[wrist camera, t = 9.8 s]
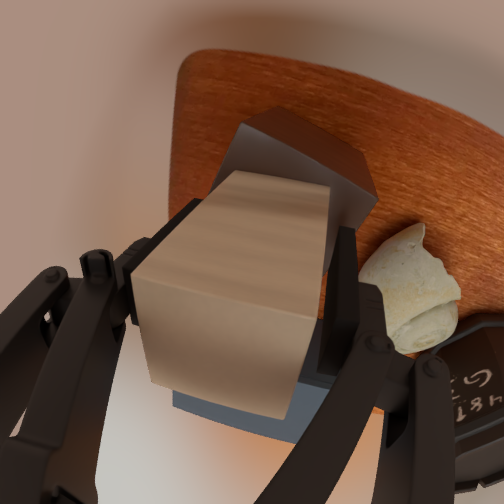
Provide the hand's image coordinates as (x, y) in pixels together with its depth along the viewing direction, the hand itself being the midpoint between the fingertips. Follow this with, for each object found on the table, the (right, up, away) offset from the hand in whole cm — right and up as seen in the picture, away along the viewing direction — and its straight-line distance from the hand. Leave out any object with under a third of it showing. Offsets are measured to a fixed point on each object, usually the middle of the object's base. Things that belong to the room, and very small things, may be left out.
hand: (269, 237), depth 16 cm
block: (0, +1, +2) cm, 2 cm away
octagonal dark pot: (+27, -14, +16) cm, 35 cm away
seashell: (+14, -3, +14) cm, 20 cm away
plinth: (+3, +6, +11) cm, 13 cm away
